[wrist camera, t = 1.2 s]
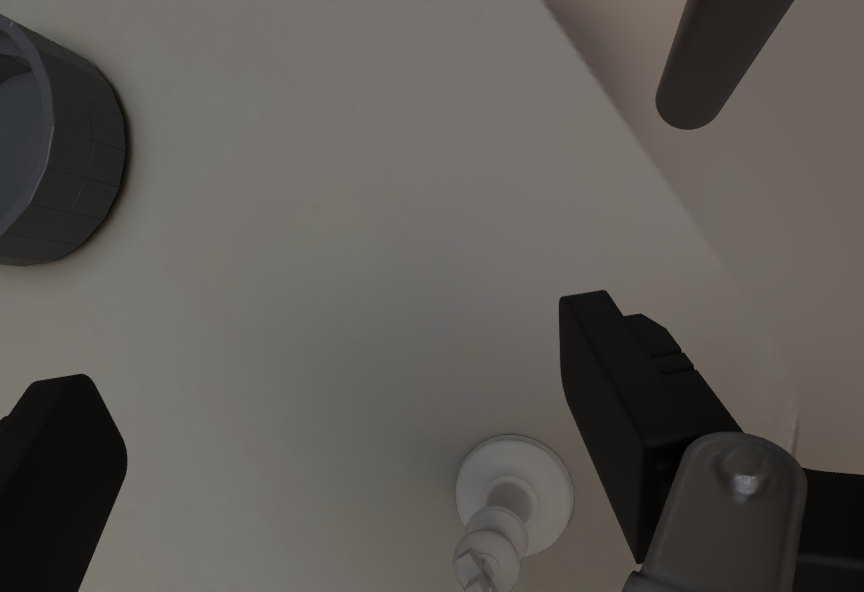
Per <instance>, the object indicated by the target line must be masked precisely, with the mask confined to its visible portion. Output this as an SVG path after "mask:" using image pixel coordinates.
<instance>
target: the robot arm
mask: <svg viewBox="0 0 864 592" xmlns="http://www.w3.org/2000/svg"><path fill="white" fill-rule="evenodd" d="M559 334H560V368H561V378H562V384H563V389H564V393H565V397H566V400H567V403H568V406H569V408H570V410H571V413H572V415H573V417H574V420H575V422H576V424H577V427H578V429H579V431H580V434H581V436H582V438H583V441H584V443H585V445H586V448H587V450H588V452H589V455H590V457H591V459H592V461H593V464H594V466H595V468H596V471H597V473H598V475H599V478H600V480H601V482H602V485H603V487H604V489H605V492H606V494H607V496H608V499H609V501H610V503H611V506H612V508H613V510H614V513H615V515H616V517H617V520H618V522H619V524H620V526H621V529H622V531H623V533H624V536H625V538H626V540H627V543H628V545H629V547H630V550H631V552H632V554H633V557H634V559H635V561H636V564H642V563H643V565H642V568H641V570H640V571H639V572H636V571H633V572H632V573H631V574H630V575H629V577H628V579H627V581H626V583H625V585H624V587H623V590H622V592H864V475H858V474H846V473H835V472H824V471H817V470H810V469H806V468H802V467H801V466H800V465H799V463H798V462H797V461H796V460H795V459H794V458H793V457H792V456H791V455H790V454H789V453H788V452H787V451H785V450H784V449H783V448H781V447H779V446H778V445H776V444H774V443H773V442H770V441H768V440H766V439H764V438H761V437H758V436H755V435H751V434H746V433H744V432H743V431H742V429H741V428H740V427H739V425H738V424H737V423H736V421H735V420H734V419H733V417H732V416H731V415H730V413H729V412H728V411H727V409H726V408H725V407H724V405H723V404H722V403H721V401H720V400H719V399H718V397H717V396H716V395H715V393H714V392H713V391H712V389H711V388H710V387H709V385H708V384H707V383H706V381H705V380H704V379H703V377H702V376H701V375H700V373H699V372H698V371H697V370H694V365H693V364H692V363H691V361H690V360H689V359H688V357H687V356H686V355H685V353H682V351H681V348H680V347H679V345H678V344H677V342H676V341H675V340H674V338H673V337H672V336H671V334H670V333H669V332H668V330H667V329H666V328H664V327H663V326H661V325H659V324H658V323H656V322H654V321H653V320H651V319H649V318H648V317H646V316H644V315H643V314H635V315H629V316H623V315H622V313H621V312H620V310H619V309H618V307H617V306H616V304H615V303H614V301H613V300H612V298H611V297H610V295H609V294H608V293H607V291H605V290H600V291H594V292H588V293H582V294H575V295H569V296H563V297H561V298H560V301H559ZM126 471H127V451H126V446H125V443H124V440H123V438H122V436H121V434H120V432H119V430H118V428H117V426H116V425H115V423H114V421H113V419H112V417H111V415H110V413H109V411H108V409H107V407H106V405H105V403H104V401H103V399H102V397H101V395H100V393H99V391H98V390H97V388H96V386H95V384H94V382H93V381H92V380H91V378H89V377H88V376H87V375H85V374H77V375H71V376H65V377H59V378H52V379H46V380H40V381H36V382H33V383H32V384H31V385H30V386H29V387H28V388H27V390H26V391H25V392H24V394H23V395H22V397H21V398H20V400H19V401H18V402H17V404H16V405H15V407H14V408H13V410H12V411H11V413H10V414H9V415H8V416H5V417H4V418H2V419H1V420H0V592H78V590H79V588H80V585H81V583H82V580H83V578H84V575H85V573H86V571H87V568H88V566H89V563H90V561H91V559H92V556H93V554H94V551H95V549H96V546H97V544H98V542H99V539H100V537H101V534H102V532H103V529H104V527H105V525H106V522H107V520H108V517H109V515H110V512H111V510H112V508H113V505H114V503H115V500H116V498H117V496H118V493H119V491H120V488H121V486H122V483H123V481H124V478H125V476H126Z"/></svg>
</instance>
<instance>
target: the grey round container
mask: <svg viewBox="0 0 864 592" xmlns="http://www.w3.org/2000/svg"><path fill="white" fill-rule="evenodd" d="M125 151H126V145H125V135H124V124H123V117H122V114H121V111H120V109H119V106H118V104H117V101H116V99H115V96H114V94H113V92H112V89H111V87H110V85H109V84H108V82H107V81H106V80H105V79H104V78H103V77H102V75H101V74H100V73H99V72H98V71H97V70H96V68H95V67H94V66H93V65H92V64H91V63H90V62H89V61H88V60H87V59H85V58H83V57H81V56H79V55H78V54H76V53H74V52H72V51H70V50H68V49H66V48H64V47H63V46H61V45H59V44H57V43H55V42H53V41H51V40H49V39H47V38H45V37H44V36H42V35H40V34H38V33H36V32H34V31H32V30H30V29H28V28H26V27H24V26H23V25H21V24H19V23H17V22H15V21H13V20H11V19H9V18H7V17H5V16H4V15H2V14H0V264H1V265H12V266H29V265H35V264H41V263H47V262H52V261H54V260H56V259H58V258H60V257H61V256H63V255H65V254H66V253H68V252H70V251H72V250H73V249H75V248H77V247H79V246H80V245H81V244H82V243H83V242H84V241H85V240H86V239H87V238H88V237H89V236H90V234H91V233H92V232H93V231H94V230H95V229H96V228H97V227H98V226H99V224H100V223H101V222H102V221H103V219H105V217H106V214H107V212H108V210H109V208H110V206H111V204H112V202H113V200H114V198H115V196H116V194H117V192H118V190H119V186H120V181H121V175H122V170H123V164H124V159H125Z"/></svg>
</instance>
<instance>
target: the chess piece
mask: <svg viewBox="0 0 864 592" xmlns="http://www.w3.org/2000/svg"><path fill="white" fill-rule="evenodd" d="M455 500H456V507H457V511H458V514H459V517H460V519H461V521H462V523H463V525H464V527H465V528H466V531H465V537H464V538H463V539H462V540H461V541H460V542H459V544H458V545H457V547H456V550H455V553H454V559H453V564H454V570H455V574H456V576H457V578H458V580H459V582H460V583H461V585H462V586H463V587H464V588H465V589H464V590H465V592H509V591H510V590H511V589H512V588H513V587H514V586H515V584H516V582H517V580H518V577H519V573H520V561H521V560H522V559H523V558H524V556H530V555H534V554H537V553H539V552H541V551H543V550H545V549H547V548H548V547H550V546H551V545H552V544H553V543H554V542H555V541H556V540H557V539H558V538H559V537H560V536H561V534H562V533H563V531H564V530H565V528H566V527H567V525H568V523H569V521H570V518H571V515H572V511H573V505H574V491H573V485H572V481H571V478H570V475H569V473H568V471H567V469H566V467H565V465H564V464H563V462H562V461H561V460H560V458H559V457H558V456H557V455H556V454H555V453H554V452H553V451H552V450H551V449H549V448H548V447H547V446H545V445H544V444H542V443H540V442H538V441H537V440H534V439H532V438H529V437H525V436H520V435H502V436H497V437H494V438H491V439H488V440H486V441H484V442H483V443H481V444H479V445H478V446H477V447H475V448H474V449H473V450H472V451H471V452H470V453H469V455H468V456H467V457H466V459H465V460H464V462H463V464H462V465H461V468H460V470H459V473H458V477H457V482H456V488H455Z"/></svg>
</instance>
